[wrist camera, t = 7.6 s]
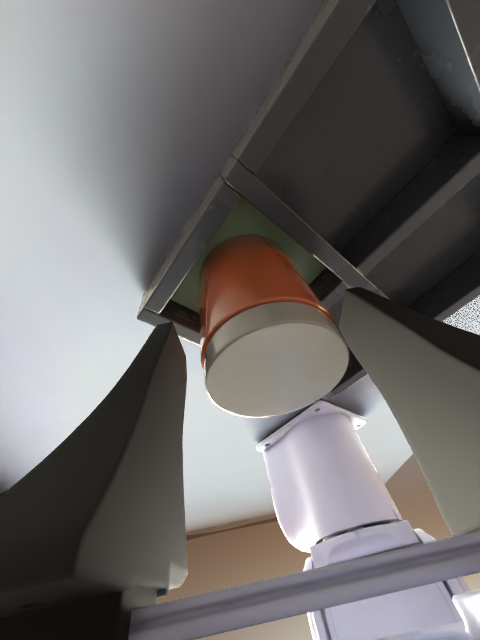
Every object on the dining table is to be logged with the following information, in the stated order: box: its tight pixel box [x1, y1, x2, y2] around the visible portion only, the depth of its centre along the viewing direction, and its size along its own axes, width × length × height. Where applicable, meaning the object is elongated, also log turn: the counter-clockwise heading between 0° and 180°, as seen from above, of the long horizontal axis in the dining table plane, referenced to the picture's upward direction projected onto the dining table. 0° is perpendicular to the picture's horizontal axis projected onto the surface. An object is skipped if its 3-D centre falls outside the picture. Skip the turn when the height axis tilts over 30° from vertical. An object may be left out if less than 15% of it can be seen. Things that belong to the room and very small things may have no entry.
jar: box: [199, 235, 349, 418], centre depth 11 cm, size 5×5×6 cm
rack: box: [137, 0, 480, 400], centre depth 13 cm, size 15×15×2 cm
